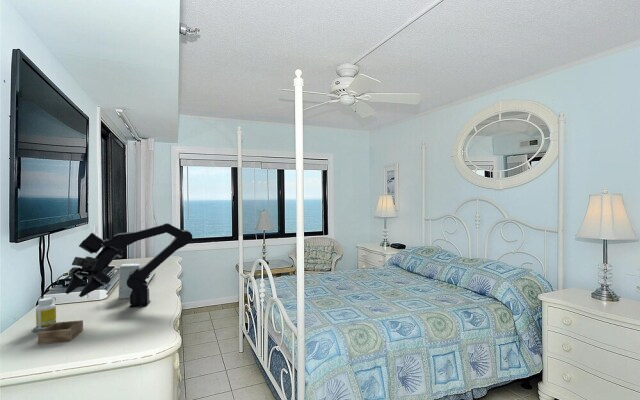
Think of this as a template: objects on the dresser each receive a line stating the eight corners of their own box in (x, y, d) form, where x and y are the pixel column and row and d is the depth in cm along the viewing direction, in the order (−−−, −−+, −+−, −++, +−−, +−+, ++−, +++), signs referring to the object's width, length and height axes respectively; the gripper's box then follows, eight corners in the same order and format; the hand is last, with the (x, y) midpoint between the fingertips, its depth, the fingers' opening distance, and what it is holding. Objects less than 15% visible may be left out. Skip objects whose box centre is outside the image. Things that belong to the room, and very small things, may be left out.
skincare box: (118, 299, 149) (117, 266, 149) (122, 295, 155) (121, 263, 155) (139, 297, 152) (138, 265, 151) (142, 293, 157) (141, 262, 157)
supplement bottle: (60, 324, 119) (59, 296, 119) (46, 330, 114) (45, 301, 114) (46, 323, 120) (45, 296, 120) (32, 329, 114) (31, 301, 114)
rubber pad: (62, 323, 121) (62, 322, 121) (51, 331, 114) (51, 329, 114) (40, 325, 119) (40, 324, 119) (27, 333, 113) (27, 331, 113)
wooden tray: (83, 330, 114) (82, 320, 114) (70, 341, 106) (69, 330, 106) (53, 332, 112) (53, 322, 112) (37, 344, 104) (37, 333, 104)
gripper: (73, 247, 133) (41, 280, 123) (101, 249, 125) (69, 286, 115) (94, 262, 140) (66, 296, 131) (122, 266, 132) (93, 302, 122)
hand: (73, 295), depth 124 cm, fingers open, 9 cm apart
